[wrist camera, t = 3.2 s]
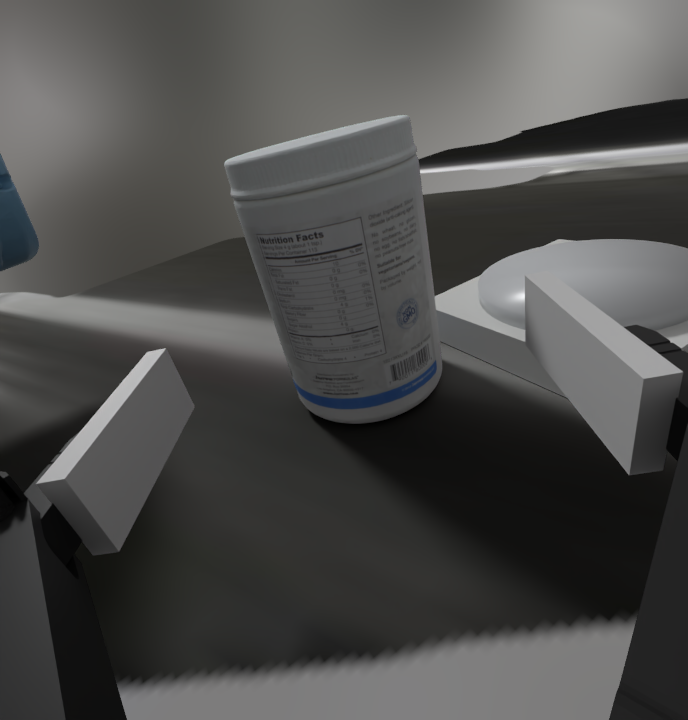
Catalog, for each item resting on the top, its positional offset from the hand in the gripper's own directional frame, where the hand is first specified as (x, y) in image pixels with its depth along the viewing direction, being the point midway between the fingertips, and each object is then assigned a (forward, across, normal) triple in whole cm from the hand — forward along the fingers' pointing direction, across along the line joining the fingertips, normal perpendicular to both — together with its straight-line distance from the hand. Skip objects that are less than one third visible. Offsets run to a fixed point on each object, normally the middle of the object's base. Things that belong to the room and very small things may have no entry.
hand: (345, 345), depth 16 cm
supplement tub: (+10, 0, -8) cm, 13 cm away
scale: (+12, +15, -8) cm, 21 cm away
